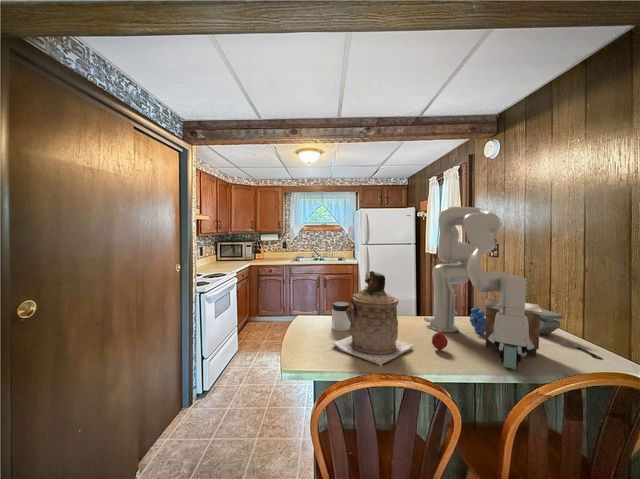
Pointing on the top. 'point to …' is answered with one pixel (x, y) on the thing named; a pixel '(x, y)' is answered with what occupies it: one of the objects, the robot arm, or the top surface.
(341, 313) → the jar
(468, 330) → the top surface
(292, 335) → the top surface
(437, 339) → the onion
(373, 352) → the cookie jar
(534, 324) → the cabinet
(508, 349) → the sage green block
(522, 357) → the grey flat rounded lump
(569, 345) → the cleaver
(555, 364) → the top surface
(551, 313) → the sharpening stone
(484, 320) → the grapes
